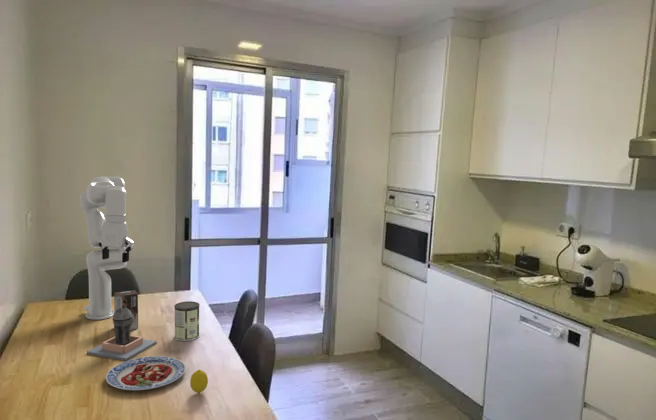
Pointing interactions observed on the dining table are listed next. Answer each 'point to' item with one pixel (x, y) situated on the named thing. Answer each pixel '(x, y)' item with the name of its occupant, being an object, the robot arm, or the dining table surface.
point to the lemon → (199, 381)
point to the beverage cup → (122, 325)
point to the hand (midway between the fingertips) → (115, 260)
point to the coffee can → (186, 321)
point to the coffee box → (128, 305)
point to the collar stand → (122, 348)
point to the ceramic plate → (145, 373)
